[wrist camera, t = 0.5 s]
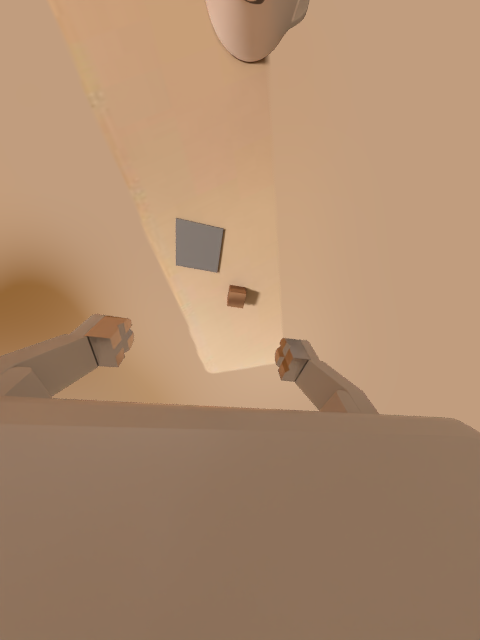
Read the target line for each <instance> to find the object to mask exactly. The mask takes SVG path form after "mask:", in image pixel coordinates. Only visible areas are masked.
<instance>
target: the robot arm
mask: <svg viewBox="0 0 480 640" xmlns="http://www.w3.org/2000/svg"><path fill="white" fill-rule="evenodd" d="M205 1H206V5H207V9H208V12H209V16H210V19H211V22H212V25H213V27H214V29H215V32H216V34H217V36H218V37H219V39H220V41H221V42H222V44H223V45H224V47H225V48H226V49H227V50H228V51H229V52H230V53H231V54H232V55H233V56H235V57H236V58H238V59H240V60H243V61H247V62H253V61H258V60H260V59H263V58H264V57H266V56H267V55H269V54H270V53H271V52H272V51H273V50H274V49H275V47H276V46H277V45H278V43H279V42H280V40H281V39H282V37H283V36H284V34H285V33H286V32H287V31H288V30H289V29H290V28H292V27H293V26H295V25H296V24H298V23H299V22H300V21H302V19H303V18H304V16H305V15H306V11H307V8H308V4H309V0H205ZM131 326H132V324H131V320H130V319H128V318H121V317H114V316H106V315H100V314H94V315H92V316H90V317H89V318H88V319H87V320H86V321H85V322H83V323H82V324H81V325H80V326H79V327H77V328H76V329H75V330H74V331H73V332H71V333H70V334H69V335H68V334H64V335H61V336H58V337H55V338H52V339H49V340H46V341H44V342H41V343H38V344H35V345H32V346H29V347H26V348H23V349H20V350H17V351H14V352H11V353H8V354H5V355H3V356H0V640H480V433H479V432H478V431H476V430H475V429H473V428H472V427H470V426H468V425H466V424H464V423H463V422H461V421H458V420H456V419H452V418H445V417H444V418H443V417H421V416H401V415H381V414H379V413H378V412H377V410H376V409H375V408H374V406H373V405H372V403H371V402H370V400H369V399H368V398H367V396H366V395H365V393H364V392H363V391H362V390H360V389H359V388H358V387H356V386H355V385H354V384H352V383H351V382H350V381H348V380H347V379H346V378H344V377H343V376H342V375H340V374H339V373H338V372H336V371H335V370H334V369H332V368H331V367H330V366H328V365H327V364H326V363H324V362H323V361H320V360H319V358H318V356H317V355H316V353H315V351H314V350H313V348H312V346H311V344H310V343H309V342H308V341H307V340H295V339H286V338H282V339H281V341H280V347H279V348H277V350H276V352H275V362H276V365H277V366H278V367H279V369H278V372H279V375H280V378H281V380H284V381H293V382H295V383H296V384H297V385H298V386H299V388H300V389H301V390H302V391H303V392H304V394H305V395H306V396H307V397H308V398H309V399H310V400H311V402H312V403H313V404H314V405H315V406H316V407H317V408H318V410H319V411H299V410H280V409H259V408H237V407H218V406H198V405H178V404H157V403H137V402H117V401H95V400H76V399H75V400H74V399H55V398H52V396H54V395H55V394H56V393H58V392H60V391H61V390H63V389H64V388H66V387H68V386H69V385H71V384H72V383H74V382H75V381H77V380H78V379H80V378H82V377H83V376H85V375H86V374H88V373H89V372H91V371H93V370H94V369H96V368H97V367H98V366H107V367H119V365H120V364H121V362H122V360H123V359H124V357H125V355H124V353H125V352H127V351H128V350H130V348H131V346H132V344H133V341H134V334H133V332H132V331H131V330H130V328H131Z"/></svg>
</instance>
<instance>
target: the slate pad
mask: <svg viewBox="0 0 480 640" xmlns="http://www.w3.org/2000/svg"><path fill="white" fill-rule="evenodd" d="M222 235H223V228H218V227H214V226H209V225H205V224H201V223H196V222H192V221H187V220H183V219H178V218H176V265H178V266H183V267H189V268H194V269H200V270H205V271H211V272H217V271H218V264H219V256H220V249H221V242H222Z"/></svg>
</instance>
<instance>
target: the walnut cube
mask: <svg viewBox="0 0 480 640" xmlns="http://www.w3.org/2000/svg"><path fill="white" fill-rule="evenodd" d="M245 298H246V290H245V287H239V286H234V285H230V287H229V292H228V298H227V306H231V307H238V308H243V306H244V302H245Z"/></svg>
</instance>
